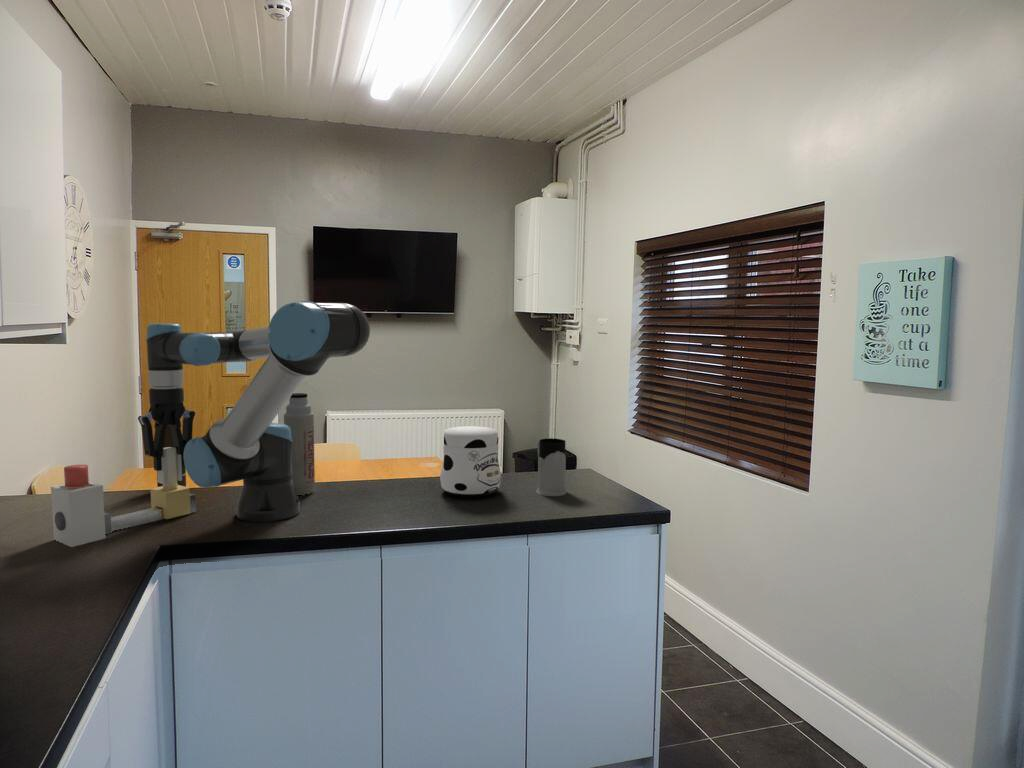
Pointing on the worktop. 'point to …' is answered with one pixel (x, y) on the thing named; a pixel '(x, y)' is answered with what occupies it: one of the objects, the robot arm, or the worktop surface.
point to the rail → (139, 517)
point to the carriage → (171, 490)
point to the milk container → (470, 461)
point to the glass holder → (551, 467)
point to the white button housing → (78, 514)
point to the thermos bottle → (301, 442)
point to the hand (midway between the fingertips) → (169, 481)
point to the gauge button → (76, 475)
